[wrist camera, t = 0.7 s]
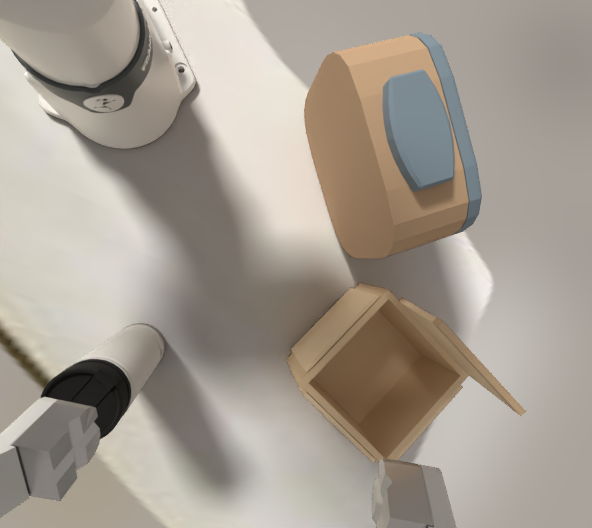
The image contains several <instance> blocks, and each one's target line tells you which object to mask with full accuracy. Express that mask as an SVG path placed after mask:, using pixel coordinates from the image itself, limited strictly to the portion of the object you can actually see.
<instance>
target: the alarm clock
mask: <svg viewBox="0 0 592 528" xmlns="http://www.w3.org/2000/svg"><path fill="white" fill-rule="evenodd" d="M304 117H305V127H306V134H307V138H308V142H309V146H310V150H311V154H312V158H313V161H314V165H315V168H316V171H317V175H318V178H319V181H320V185H321V188H322V192H323V195H324V198H325V202H326V205H327V208H328V212H329V215H330V218H331V221H332V224H333V226H334V229H335V232H336V235H337V237H338V239H339V241H340V243H341V245H342V247H343V248H344V250H345V251H346V252H347V253H348V254H349V255H350V256H351V257H354V258H372V259H380V258H384V257H387V256H390V255H393V254H397V253H400V252H403V251H406V250H409V249H412V248H415V247H418V246H421V245H424V244H427V243H430V242H433V241H436V240H439V239H442V238H445V237H448V236H451V235H454V234H457V233H460V232H463V231H464V230H465V229H467V228H468V227H469V226H471V225H472V224H473V223H474V221H475V219H476V218H477V216H478V214H479V210H480V204H481V198H482V194H481V188H480V181H479V175H478V168H477V163H476V159H475V155H474V152H473V148H472V144H471V140H470V136H469V132H468V129H467V125H466V121H465V118H464V114H463V110H462V106H461V103H460V98H459V95H458V91H457V87H456V84H455V80H454V76H453V73H452V71H451V68H450V66H449V63H448V61H447V58H446V56H445V53H444V50H443V48H442V46H441V45H440V44H439V43H438V42H437V41H436V40H435V39H434V38H433V37H432V36H431V35H428V34H423V33H415V34H411V35H407V36H403V37H398V38H393V39H389V40H385V41H380V42H376V43H372V44H367V45H363V46H358V47H354V48H350V49H345V50H341V51H336V52H333V53H331V54H329V55H327V56H326V58H325V60H324V61H323V63H322V65H321V67H320V69H319V71H318V73H317V75H316V77H315V79H314V81H313V84H312V86H311V88H310V90H309V92H308V94H307V97H306V101H305V108H304Z"/></svg>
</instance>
